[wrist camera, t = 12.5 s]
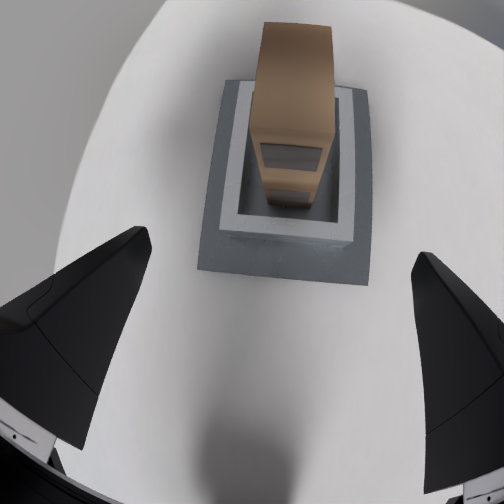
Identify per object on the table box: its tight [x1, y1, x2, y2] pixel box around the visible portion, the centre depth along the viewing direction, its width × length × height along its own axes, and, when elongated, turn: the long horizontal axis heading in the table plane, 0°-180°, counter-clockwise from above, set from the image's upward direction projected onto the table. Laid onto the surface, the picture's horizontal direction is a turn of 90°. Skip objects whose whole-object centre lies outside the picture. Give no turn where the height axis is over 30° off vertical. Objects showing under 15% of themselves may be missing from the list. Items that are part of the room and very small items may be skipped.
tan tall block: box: [249, 22, 335, 208], centre depth 15 cm, size 6×3×11 cm, turn 174°
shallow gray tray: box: [197, 80, 372, 286], centre depth 20 cm, size 16×12×4 cm
